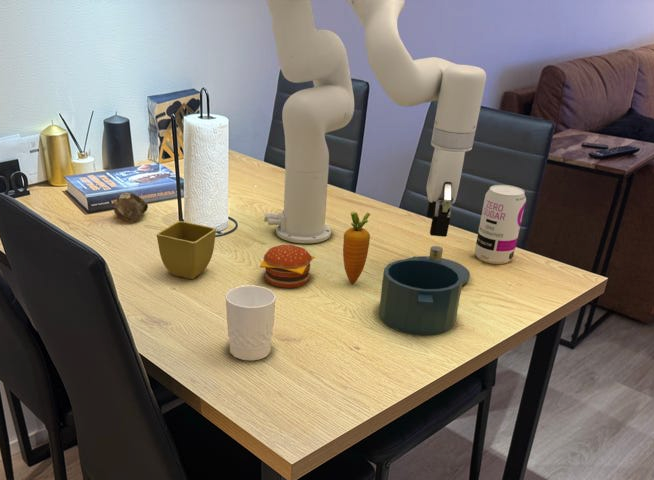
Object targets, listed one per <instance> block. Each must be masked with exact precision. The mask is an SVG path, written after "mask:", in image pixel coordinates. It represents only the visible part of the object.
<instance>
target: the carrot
mask: <svg viewBox="0 0 654 480" xmlns="http://www.w3.org/2000/svg"><path fill="white" fill-rule="evenodd" d="M370 215H371V213H370V212H366V213H365V215H364V216H363V218H362V220H361V219H360V216H359V214H358V212H355V211H351V212H350V218H351V220H352V222H351V223H350V225H351V226H352V227H349V228H348V229H347V230H346V231H344V234H343V243H342V244H343V245H342V249H343V250H342V257H343V258H342V259H343V266H344V271H345V275H346V277H347V279H348V282H349V283H350V284H351V285H354V284H355V283H356V282H357V281H358V279H359V278H360V276H361V274H362V273H363V271H364V267H365V265H366V262H367V258H368V253H369V248H370V241H371V234H370V232H369V231H368V230H367V229H366V228H364V226H365V224H367V223H369V219H368V218H369V217H370Z"/></svg>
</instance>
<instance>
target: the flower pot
mask: <svg viewBox="0 0 654 480" xmlns="http://www.w3.org/2000/svg"><path fill="white" fill-rule="evenodd" d="M216 233H217V228H215V227H211V226H207V225H203V224H198V223H193V222H188V221H182V220H178V221H176V222H174V223H172V224H171V225H169V226H168V227H166V228H164V229H162V230H160V231H159V232H157V233H156V239H157V245H158V250H159V255H160V259H161V261H162V264H163V265H164V267H165V269H166V270H167V271H168V273H170V275H173V276H176V277H180V278H185V279H189V280H194V279H195V278H197V277H198V276H199V275H201V274H202V273H203V272H205V270H206V269H207V267H208V266H209V264H210V262H211V259H212V257H213V255H214V254H213V253H214V249H215V241H216Z"/></svg>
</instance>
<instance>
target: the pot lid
mask: <svg viewBox="0 0 654 480" xmlns="http://www.w3.org/2000/svg"><path fill="white" fill-rule="evenodd" d="M443 250H444V248H443V247H442V246H438V245H433V246H431V247H430V249H429V255H427V256H426V255H425V256H424V255H421V256H418V257H426V260H433V261H437V262H440V263H444V264H447V265H449V266H451V267H453V268H455V269H456V270H458V271H459V272H460V273H461V274H462V277H463V284H462V286H463V285H465V284H467V283H468V281H469V280H470V277H471V273H470V271H469V269H468V268H467V267H466V266H465V265H463V264H461V263H459V262H457V261H455V260H452V259H448V258H444V257H443V252H444V251H443ZM406 259H413V256H411V257H408V258H406Z"/></svg>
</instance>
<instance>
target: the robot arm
mask: <svg viewBox="0 0 654 480" xmlns="http://www.w3.org/2000/svg"><path fill="white" fill-rule="evenodd" d="M347 2H348V4H349V6H350V7H351V9H352V10H353V12H354V13H355V15H356V17H357V19H358V20H359V22H360V24H361V26H362V27H363V30H364V44H365V51H366V56H367V60H368V64H369V66H370V68H371V71H372V73H373V75H374V76H375V78H376V79H377V81H378V82H379V84H380V86H381V87H382V90H384V92H385V94H386V95H387V96H388V98H389V99H390V100H391V101H392V102H393V103H395V104H397V105H399V106H401V107H406V108H407V107H408V108H409V107H410V108H411V107H414V106H418V105H422V104H425V103H432V102H437V107H436V113H435V119H434V123H433V130H432V135H431V140H430V145H431V147H433V148H434V150H433V154H432V157H431V158H432V159H431V163H430V168H429V173H428V177H427V181H426V188H425V189H426V195H427V200H428V205H427V211H426V217H427V218H432V219H431V223H430V228H429V229H430V230H429V235H430V236H432V237H433V236H434V237H443V238H446V237H447V236H448V232H449V228H450V227H449V226H450V222H451V213H452V205H453V204H455V203H456V200H457V196H458V191H459V188H460V182H461V179H462V178H461V177H462V173H463V172H462V171H463V166H464V161H465V157H466V156H465V155H466V152H470V151H471V150H473V145H474V142H475V136H476V130H477V128H478V127H477V126H478V122H479V116H480V112H481V107H482V103H483V98H484V92H485V87H486V84H487V83H486V82H487V73H486V71H485V70H484V69H483V68H481V67H479V66H475V65H469V64H457V63H454V62H452V61H449V60H446V59H444V58H441V57H436V56H431V57H425V58H418V59H413V58H412V56H411V54H410V53H409V51H408V49H407V48H406V46H405V44H404V43H403V40H402V39H401V36H400V33H399V29H398V18H399V16H400V15H401V14H402V12H403V10H404V9H405V5H406V1H405V0H347ZM266 4H267V7H268V12H269V16H270V20H271V27H272V33H273V37H274V38H273V39H274V43H275V48H276V53H277V58H278V64H279V68H280V71H281V73H282V76H283V77H284V78H285V80H287V81H289V82H290V83H294V84H295V83H297V84H299V83H306V82H307V83H308V82H312V84H313V87H308V88H304V89H301V90H298V91H296V92H294V93H292V94H291V95H290V96H289V97H288V98H287V99H286V101H285V102H284V105H283V107H282V112H281V113H282V115H281V116H282V117H281V118H282V127H283V133H284V144H285V147H284V148H285V154H284V155H285V156H284V157H285V158H284V159H285V161H284V191H283V192H284V195H283V210H282V212H278V214H275V213H266V212H264V219H263V221H264V222H265V223H267V225H268V226H269V225H270V226H276V228H275V229H276V231H275V233H276V236H277V237H279V238H280V239H282V240H283V241H285V242H290V243H293V244H317V243H323V242H324V241H326V240H328V239H329V238H331V236H332V229H331V227H329V226H328V225H327V224H326V212H327V199H328V198H327V197H328V196H327V195H328V182H329V171H330V170H329V169H330V168H329V167H330V152H329V148H328V144H327V141H326V136H325V135H326V134H327V133H331V132H334V131H337V130H341V129H343V128H344V127H346V126H348V124H349V123H350V122H351V121H352V119H353V116H354V112H355V96H354V88H353V83H352V77H351V70H350V65H349V58H348V53H347V49H346V47H345V44H344V42H343V41H342V39H341V38H340V36H338V34H337V33H335V32H333V31H332V30H328V29H317V27H316V23H315V19H314V11H313V7H312V3H311V0H266Z"/></svg>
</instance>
